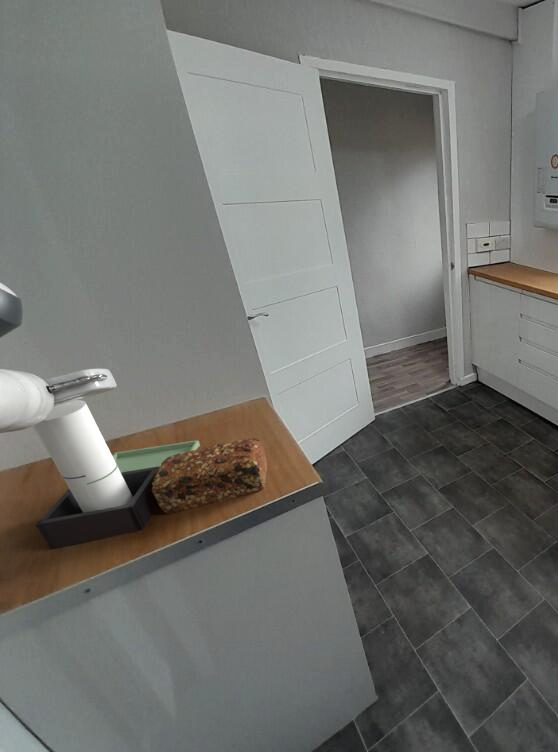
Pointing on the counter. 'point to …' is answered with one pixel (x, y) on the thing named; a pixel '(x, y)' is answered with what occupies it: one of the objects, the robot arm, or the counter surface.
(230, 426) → the counter surface
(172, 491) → the bread
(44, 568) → the counter surface
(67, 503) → the basket
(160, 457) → the tray
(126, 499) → the cylindrical container
